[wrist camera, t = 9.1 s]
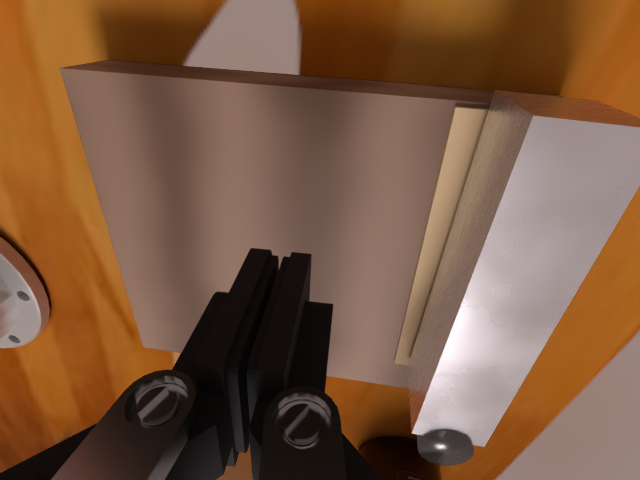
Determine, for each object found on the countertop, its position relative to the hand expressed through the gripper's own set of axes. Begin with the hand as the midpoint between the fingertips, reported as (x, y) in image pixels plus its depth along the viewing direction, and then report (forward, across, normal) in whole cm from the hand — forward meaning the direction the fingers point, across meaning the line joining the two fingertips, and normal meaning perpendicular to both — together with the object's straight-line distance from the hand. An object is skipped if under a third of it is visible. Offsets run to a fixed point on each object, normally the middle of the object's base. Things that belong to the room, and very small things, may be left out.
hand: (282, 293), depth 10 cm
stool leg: (+6, -7, +3) cm, 10 cm away
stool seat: (+9, 0, +3) cm, 10 cm away
